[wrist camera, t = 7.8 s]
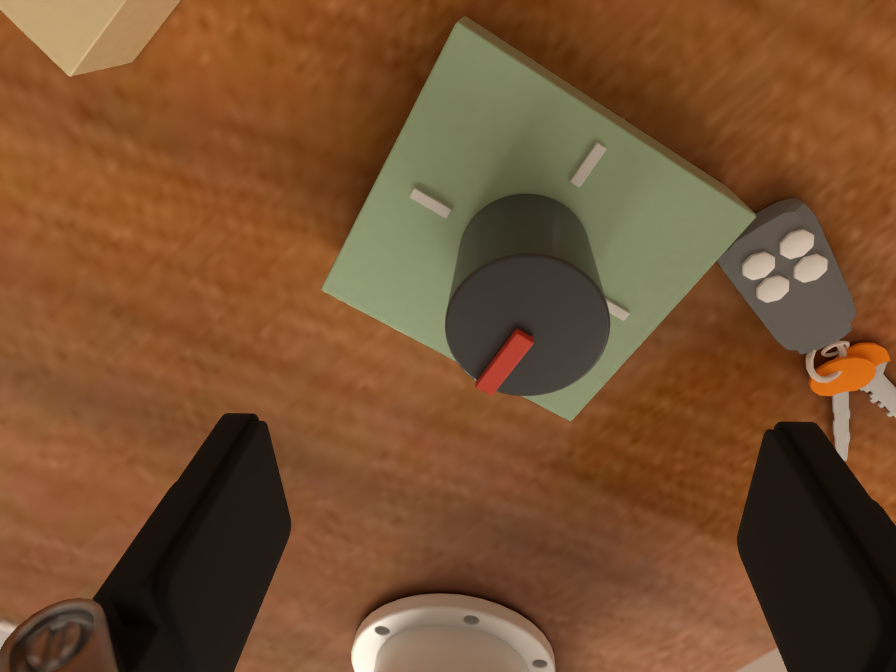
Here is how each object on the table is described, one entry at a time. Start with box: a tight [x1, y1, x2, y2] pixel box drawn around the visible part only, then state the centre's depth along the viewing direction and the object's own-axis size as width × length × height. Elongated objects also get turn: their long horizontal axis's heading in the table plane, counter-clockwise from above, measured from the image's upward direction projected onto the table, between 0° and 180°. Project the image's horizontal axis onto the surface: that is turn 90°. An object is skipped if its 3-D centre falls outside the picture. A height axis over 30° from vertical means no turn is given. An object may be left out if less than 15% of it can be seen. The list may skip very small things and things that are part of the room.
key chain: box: [717, 198, 896, 461], centre depth 23 cm, size 13×4×2 cm, turn 39°
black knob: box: [445, 194, 610, 396], centre depth 18 cm, size 4×4×5 cm
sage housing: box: [321, 16, 756, 421], centre depth 21 cm, size 11×10×3 cm
